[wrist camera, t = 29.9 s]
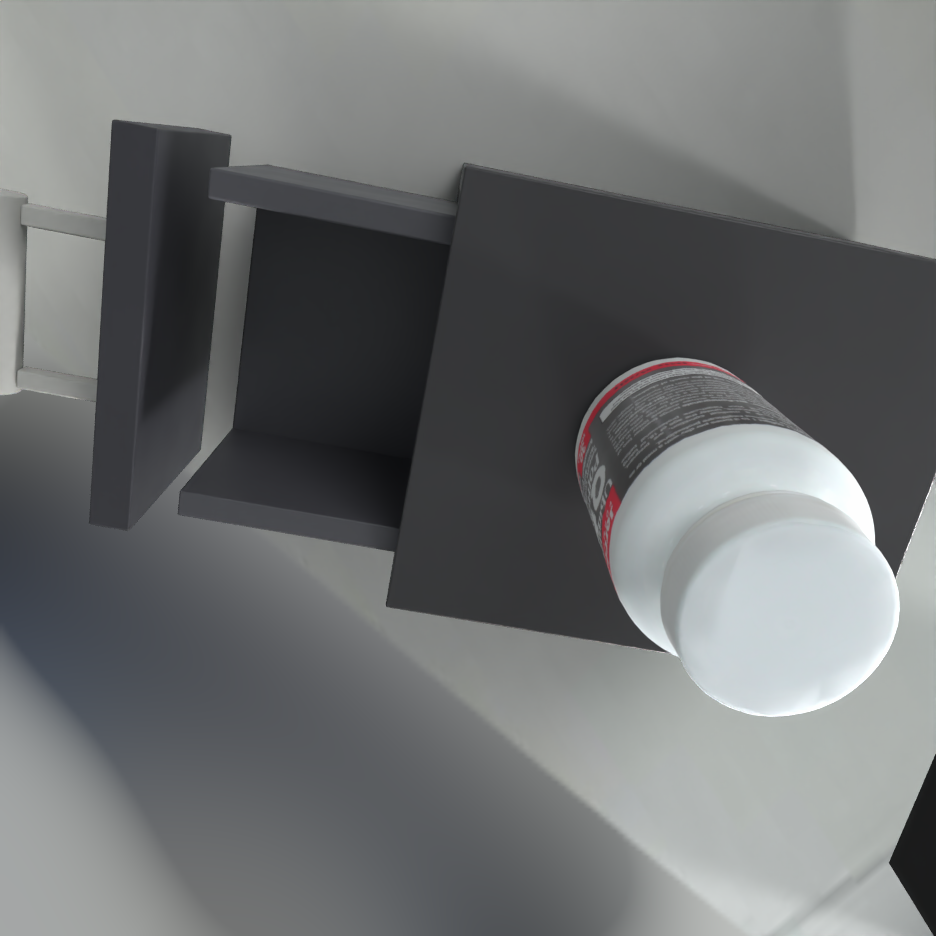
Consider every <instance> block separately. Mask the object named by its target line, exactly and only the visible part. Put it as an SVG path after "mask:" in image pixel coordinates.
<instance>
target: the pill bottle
mask: <svg viewBox="0 0 936 936" xmlns="http://www.w3.org/2000/svg"><path fill="white" fill-rule="evenodd" d="M575 463H576V472H577V477H578V481H579V485H580V489H581V493H582V495H583V498H584V501H585V503H586V506H587V508H588V511H589V514H590V517H591V520H592V523H593V525H594V529H595V532H596V534H597V537H598V540H599V543H600V546H601V548H602V551H603V555H604V558H605V561H606V564H607V567H608V570H609V573H610V576H611V579H612V581H613V584H614V587H615V590H616V592H617V594H618V597H619V600H620V601H621V603H622V605H623V606H624V608H625V610H626V612H627V613H628V615H629V616H630V618H631V619H632V620H633V622H634V623H635V624H636V626H637V627H638V628H639V629H640V630H641V631H642V632H643V633H644V634H645V635H646V636H647V637H648V638H649V639H651V640H652V641H653V642H654V643H656V644H657V645H658V646H660V647H661V648H663V649H664V650H666V651H668V652H670V653H671V654H673V655H675V656H677V657H679V659H680V661H681V663H682V665H683V666H684V668H685V670H686V671H687V673H688V674H689V676H690V677H691V679H692V680H693V681H694V682H695V683H696V684H697V685H698V687H699V688H700V689H701V690H702V691H704V692H705V693H706V694H707V695H708V696H710V697H711V698H713V699H714V700H716V701H718V702H719V703H721V704H723V705H725V706H727V707H729V708H732V709H734V710H737V711H741V712H744V713H748V714H751V715H759V716H773V717H776V716H789V715H795V714H800V713H805V712H809V711H812V710H816V709H819V708H821V707H824V706H826V705H828V704H831V703H833V702H835V701H837V700H838V699H840V698H842V697H843V696H845V695H847V694H848V693H850V692H851V691H852V690H854V689H855V688H856V687H857V686H859V685H860V684H861V683H862V682H863V681H864V680H865V679H867V678H868V677H869V676H870V675H871V673H872V672H873V671H874V670H875V669H876V668H877V666H878V665H879V664H880V662H881V661H882V659H883V658H884V656H885V655H886V653H887V651H888V649H889V647H890V645H891V643H892V641H893V639H894V636H895V632H896V629H897V626H898V620H899V610H900V607H899V592H898V588H897V584H896V580H895V577H894V575H893V572H892V569H891V568H890V566H889V564H888V562H887V561H886V559H885V558H884V556H883V555H882V553H881V552H880V550H879V549H878V548H877V547H876V546H875V532H874V524H873V518H872V515H871V511H870V508H869V505H868V502H867V499H866V497H865V495H864V493H863V491H862V489H861V487H860V486H859V484H858V483H857V481H856V479H855V478H854V477H853V475H852V474H851V473H850V471H849V470H848V469H847V468H846V467H845V466H844V465H843V464H842V463H841V462H840V461H839V459H838V458H837V457H835V456H834V455H833V454H832V453H831V452H830V451H828V450H827V449H826V448H825V447H824V446H823V445H821V444H820V443H818V442H817V441H816V440H814V439H813V438H812V437H810V436H809V435H808V434H807V433H805V432H804V431H803V430H802V429H800V428H799V427H798V426H797V425H796V424H794V423H793V422H792V421H790V420H789V419H788V418H787V417H785V416H784V415H783V414H782V413H781V412H779V411H778V410H777V409H776V408H775V407H774V406H772V405H771V404H770V403H769V402H767V401H766V400H765V399H764V398H763V397H762V396H761V395H759V394H758V393H757V392H756V391H755V390H754V389H752V388H751V387H750V386H748V385H747V384H746V383H744V382H743V381H742V380H740V379H739V378H738V377H736V376H735V375H733V374H732V373H730V372H729V371H727V370H725V369H723V368H721V367H719V366H717V365H715V364H712V363H709V362H706V361H701V360H696V359H689V358H678V357H677V358H668V359H661V360H655V361H651V362H647V363H645V364H642V365H640V366H637V367H634V368H633V369H631V370H629V371H627V372H625V373H624V374H622V375H621V376H619V377H618V378H616V379H615V380H613V381H612V382H611V383H610V384H609V385H608V386H607V387H606V388H605V389H604V390H603V391H602V392H601V393H600V394H599V395H598V396H597V397H596V398H595V400H594V401H593V403H592V404H591V406H590V407H589V409H588V411H587V413H586V414H585V416H584V418H583V421H582V424H581V427H580V430H579V433H578V437H577V442H576V450H575Z"/></svg>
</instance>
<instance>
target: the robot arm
mask: <svg viewBox="0 0 936 936" xmlns="http://www.w3.org/2000/svg"><path fill="white" fill-rule="evenodd" d="M889 864H890V865H891V867H892V868H893V870H894V872H895V873H896V875H897V877H898V878H899V880H900V882H901V883H902V885H903V886H904V888H905V890H906V891H907V893H908V895H909V896H910V898H911V899H912V901H913V903H914V904H915V906H916V908H917V909H918V911H919V912H920V914H921V916H922V917H923V919H924V921H925V922H926V924H927V925H928V927H929V929H930V930H931V932H932V934H933V935H934V936H936V754H935V757H934V759H933V761H932V764H931V766H930V768H929V771H928V773H927V775H926V778H925V780H924V782H923V785H922V787H921V789H920V792H919V794H918V796H917V799H916V801H915V803H914V806H913V808H912V810H911V813H910V815H909V817H908V820H907V822H906V824H905V827H904V829H903V831H902V834H901V836H900V838H899V841H898V843H897V845H896V848H895V850H894V852H893V855H892V857H891V859H890V862H889Z"/></svg>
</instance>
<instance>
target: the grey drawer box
mask: <svg viewBox="0 0 936 936" xmlns="http://www.w3.org/2000/svg"><path fill="white" fill-rule="evenodd" d="M457 202H458V206H457V212H456V217H455V223H454V228H453V234H452V239H451V245H450V251H449V256H448V262H447V267H446V273H445V278H444V284H443V289H442V295H441V301H440V306H439V312H438V317H437V323H436V328H435V334H434V339H433V345H432V351H431V356H430V362H429V367H428V373H427V378H426V384H425V389H424V395H423V401H422V406H421V412H420V417H419V423H418V428H417V434H416V439H415V445H414V450H413V456H412V462H411V467H410V473H409V478H408V484H407V489H406V495H405V500H404V506H403V512H402V517H401V523H400V528H399V534H398V539H397V545H396V550H395V553H394V559H393V565H392V571H391V577H390V583H389V589H388V595H387V601H386V607H390V608H396V609H402V610H408V611H414V612H420V613H426V614H432V615H438V616H444V617H450V618H456V619H462V620H468V621H474V622H480V623H486V624H492V625H498V626H504V627H510V628H516V629H522V630H528V631H534V632H541V633H547V634H553V635H559V636H565V637H571V638H577V639H583V640H589V641H595V642H601V643H607V644H613V645H619V646H625V647H631V648H637V649H643V650H649V651H655V652H661V653H667V654H671V653H670V652H668V651H666V650H664V649H663V648H661V647H660V646H658V645H657V644H656V643H654V642H653V641H652V640H651V639H649V638H648V637H647V636H646V635H645V634H644V633H643V632H642V631H641V630H640V629H639V628H638V627H637V626H636V624H635V623H634V622H633V620H632V619H631V618H630V616H629V615H628V613H627V612H626V610H625V608H624V606H623V605H622V603H621V601H620V600H619V597H618V594H617V592H616V590H615V587H614V584H613V581H612V579H611V576H610V573H609V570H608V567H607V564H606V561H605V558H604V555H603V551H602V548H601V546H600V543H599V540H598V537H597V534H596V532H595V529H594V525H593V523H592V520H591V517H590V514H589V511H588V508H587V506H586V503H585V501H584V498H583V495H582V493H581V489H580V485H579V481H578V477H577V472H576V463H575V450H576V442H577V437H578V433H579V430H580V427H581V424H582V421H583V418H584V416H585V414H586V413H587V411H588V409H589V407H590V406H591V404H592V403H593V401H594V400H595V398H596V397H597V396H598V395H599V394H600V393H601V392H602V391H603V390H604V389H605V388H606V387H607V386H608V385H609V384H610V383H611V382H612V381H613V380H615V379H616V378H618V377H619V376H621V375H622V374H624V373H625V372H627V371H629V370H631V369H633V368H634V367H637V366H640V365H642V364H645V363H647V362H651V361H655V360H661V359H668V358H677V357H678V358H689V359H696V360H701V361H706V362H709V363H712V364H715V365H717V366H719V367H721V368H723V369H725V370H727V371H729V372H730V373H732V374H733V375H735V376H736V377H738V378H739V379H740V380H742V381H743V382H744V383H746V384H747V385H748V386H750V387H751V388H752V389H754V390H755V391H756V392H757V393H758V394H759V395H761V396H762V397H763V398H764V399H765V400H766V401H767V402H769V403H770V404H771V405H772V406H774V407H775V408H776V409H777V410H778V411H779V412H781V413H782V414H783V415H784V416H785V417H787V418H788V419H789V420H790V421H792V422H793V423H794V424H796V425H797V426H798V427H799V428H800V429H802V430H803V431H804V432H805V433H807V434H808V435H809V436H810V437H812V438H813V439H814V440H816V441H817V442H818V443H820V444H821V445H823V446H824V447H825V448H826V449H827V450H828V451H830V452H831V453H832V454H833V455H834V456H835V457H837V458H838V459H839V461H840V462H841V463H842V464H843V465H844V466H845V467H846V468H847V469H848V470H849V471H850V473H851V474H852V475H853V477H854V478H855V479H856V481H857V483H858V484H859V486H860V487H861V489H862V491H863V493H864V495H865V497H866V499H867V502H868V505H869V508H870V511H871V515H872V518H873V524H874V532H875V546H876V547H877V548H878V549H879V550H880V552H881V553H882V555H883V556H884V558H885V559H886V561H887V562H888V564H889V566H890V568H891V569H892V572H893V575H894V577H895V580H896V577H897V575H898V572H899V570H900V567H901V564H902V562H903V559H904V557H905V554H906V551H907V549H908V546H909V544H910V541H911V538H912V536H913V533H914V531H915V528H916V525H917V523H918V520H919V518H920V515H921V513H922V510H923V507H924V505H925V502H926V500H927V497H928V494H929V492H930V489H931V487H932V484H933V481H934V479H935V476H936V259H932V258H928V257H923V256H919V255H914V254H909V253H905V252H900V251H896V250H891V249H887V248H882V247H877V246H873V245H868V244H864V243H859V242H854V241H849V240H844V239H839V238H834V237H829V236H824V235H819V234H815V233H810V232H805V231H800V230H795V229H790V228H785V227H780V226H775V225H770V224H765V223H760V222H755V221H750V220H745V219H740V218H735V217H730V216H725V215H720V214H716V213H711V212H706V211H701V210H696V209H691V208H686V207H681V206H676V205H671V204H666V203H661V202H656V201H651V200H646V199H641V198H636V197H631V196H626V195H621V194H616V193H612V192H607V191H602V190H597V189H592V188H587V187H582V186H577V185H572V184H567V183H562V182H557V181H552V180H547V179H542V178H537V177H532V176H527V175H522V174H517V173H513V172H508V171H503V170H498V169H493V168H488V167H483V166H478V165H473V164H468V163H464V164H463V169H462V175H461V180H460V186H459V191H458V197H457Z"/></svg>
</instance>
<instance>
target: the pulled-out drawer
mask: <svg viewBox="0 0 936 936" xmlns="http://www.w3.org/2000/svg"><path fill="white" fill-rule="evenodd" d="M230 146H231V135H229V134H224V133H219V132H214V131H209V130H204V129H199V128H190V127H180V126H171V125H161V124H151V123H142V122H132V121H122V120H113V121H112V130H111V148H110V166H109V183H108V201H107V218H103V217H98V216H93V215H87V214H82V213H77V212H72V211H67V210H61V209H56V208H51V207H46V206H41V205H35V204H28V196H27V195H25V194H23V193H19V192H15V191H10V190H5V189H0V395H9V394H15V393H18V392H20V391H21V390H22V389H25V390H30V391H36V392H42V393H47V394H53V395H58V396H64V397H70V398H75V399H81V400H87V401H92V402H96V413H95V431H94V448H93V466H92V484H91V502H90V520H89V523H90V524H91V525H96V526H102V527H108V528H114V529H120V530H126V531H129V530H130V529H131V528H132V527H133V526H134V525H135V523H136V522H137V521H138V520H139V519H140V518H141V517H142V516H143V514H144V513H145V512H146V511H147V510H148V509H149V508H150V506H151V505H152V504H153V503H154V502H155V501H156V500H157V498H158V497H159V496H160V495H161V494H162V493H163V492H164V491H165V489H166V488H167V487H168V486H169V485H170V484H171V483H172V481H173V480H174V479H175V478H176V477H177V476H178V475H179V474H180V472H181V471H182V470H183V469H184V468H185V467H186V466H187V465H188V463H189V462H190V461H191V460H192V459H193V458H194V457H195V455H196V454H197V453H198V452H199V451H200V450H201V441H202V431H203V421H204V411H205V401H206V390H207V380H208V370H209V360H210V350H211V339H212V329H213V319H214V309H215V299H216V288H217V278H218V268H219V258H220V248H221V237H222V227H223V217H224V207H225V202H229V203H235V204H240V205H245V206H250V207H255V208H257V211H256V221H255V230H254V239H253V248H252V257H251V266H250V275H249V284H248V294H247V303H246V312H245V321H244V330H243V339H242V348H241V358H240V367H239V376H238V385H237V394H236V403H235V412H234V421H233V428H232V430H231V431H230V432H229V433H228V434H227V436H226V437H225V438H224V439H223V440H222V442H221V443H220V444H219V445H218V446H217V448H216V449H215V450H214V451H213V452H212V454H211V455H210V456H209V457H208V458H207V460H206V461H205V462H204V463H203V464H202V466H201V467H200V468H199V469H198V470H197V472H196V473H195V474H194V475H193V476H192V478H191V479H190V480H189V481H188V482H187V484H186V485H185V486H184V487H183V488H182V490H181V491H180V497H179V507H178V514H179V515H182V516H188V517H194V518H200V519H206V520H212V521H217V522H223V523H229V524H235V525H241V526H246V527H252V528H258V529H264V530H270V531H276V532H282V533H288V534H293V535H299V536H305V537H311V538H317V539H323V540H329V541H335V542H340V543H346V544H352V545H358V546H364V547H370V548H376V549H382V550H387V551H393V552H395V550H396V545H397V539H398V534H399V528H400V523H401V517H402V512H403V506H404V500H405V495H406V489H407V484H408V478H409V473H410V467H411V462H412V456H413V450H414V445H415V439H416V434H417V428H418V423H419V417H420V412H421V406H422V401H423V395H424V389H425V384H426V378H427V373H428V367H429V362H430V356H431V351H432V345H433V339H434V334H435V328H436V323H437V317H438V312H439V306H440V301H441V295H442V289H443V284H444V278H445V273H446V267H447V262H448V256H449V251H450V245H451V239H452V234H453V228H454V223H455V217H456V212H457V206H458V202H453V201H448V200H443V199H438V198H433V197H428V196H423V195H418V194H413V193H408V192H403V191H398V190H392V189H387V188H382V187H377V186H372V185H367V184H362V183H357V182H352V181H347V180H342V179H337V178H332V177H327V176H322V175H317V174H312V173H307V172H302V171H297V170H292V169H287V168H282V167H277V166H272V165H256V166H235V167H228V166H229V156H230ZM27 226H29V227H34V228H39V229H45V230H50V231H55V232H60V233H66V234H71V235H76V236H81V237H87V238H92V239H97V240H102V241H105V254H104V272H103V289H102V307H101V325H100V342H99V360H98V378H97V379H93V378H87V377H81V376H76V375H70V374H65V373H59V372H54V371H48V370H42V369H37V368H31V367H24V368H23V352H24V319H25V284H26V249H27Z"/></svg>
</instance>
